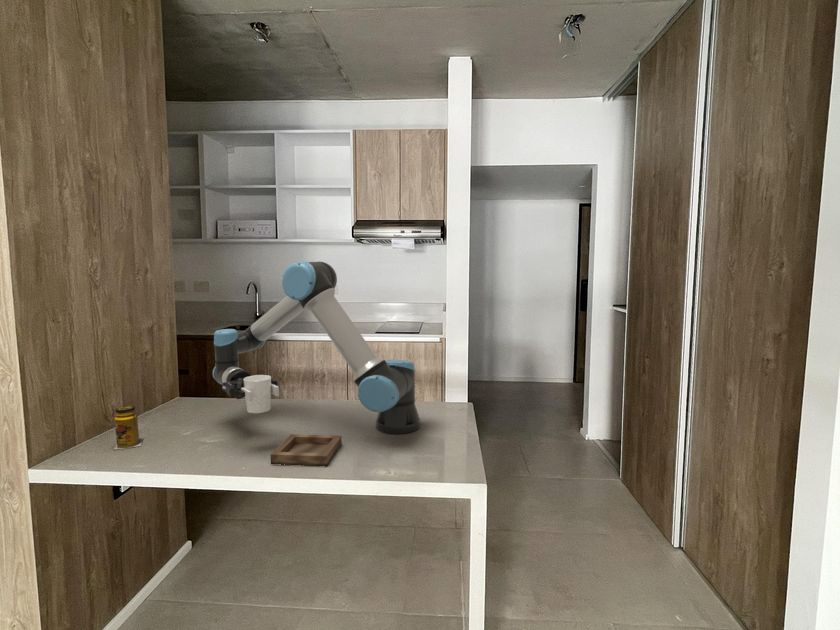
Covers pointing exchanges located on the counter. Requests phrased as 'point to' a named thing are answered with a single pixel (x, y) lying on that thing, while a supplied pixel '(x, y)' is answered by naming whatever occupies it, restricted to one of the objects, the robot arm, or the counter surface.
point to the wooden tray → (306, 450)
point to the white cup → (258, 393)
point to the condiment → (127, 428)
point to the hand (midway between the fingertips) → (264, 394)
